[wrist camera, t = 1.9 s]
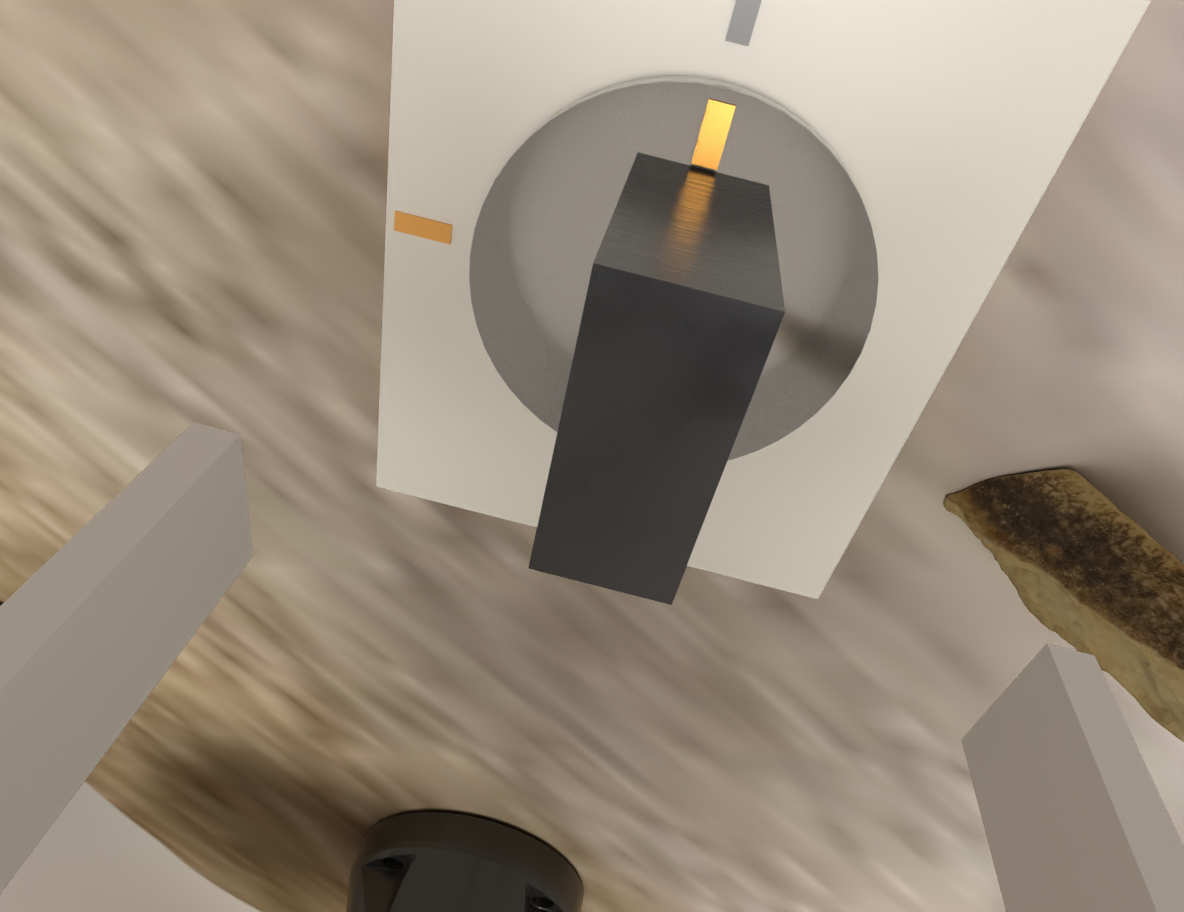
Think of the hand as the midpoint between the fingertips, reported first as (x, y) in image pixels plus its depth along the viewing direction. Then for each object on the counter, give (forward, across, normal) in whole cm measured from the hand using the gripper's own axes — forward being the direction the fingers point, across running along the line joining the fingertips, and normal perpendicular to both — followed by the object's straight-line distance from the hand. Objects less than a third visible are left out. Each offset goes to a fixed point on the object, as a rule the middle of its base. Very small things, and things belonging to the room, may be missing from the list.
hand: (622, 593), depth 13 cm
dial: (+13, 0, 0) cm, 13 cm away
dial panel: (+15, 0, 0) cm, 15 cm away
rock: (+15, -18, +8) cm, 25 cm away
